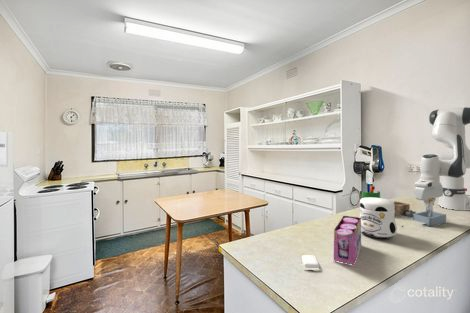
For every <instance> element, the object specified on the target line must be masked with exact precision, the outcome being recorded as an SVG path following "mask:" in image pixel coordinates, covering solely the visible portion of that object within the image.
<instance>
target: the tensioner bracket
mask: <svg viewBox="0 0 470 313" xmlns="http://www.w3.org/2000/svg"><path fill="white" fill-rule="evenodd" d="M393 202H394V206H395V209H394V210H395V216H398V217H400V218H401V217H403V218H406V219H413V214H415V213H417V212H416V211H413V209H411V206H410V203H406V202H401V201H397V200H396V201H395V200H394V201H393Z"/></svg>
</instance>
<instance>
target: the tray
mask: <svg viewBox="0 0 470 313" xmlns="http://www.w3.org/2000/svg"><path fill="white" fill-rule="evenodd" d="M412 221H416V222H419V223H421V225H422V226H426V227H428V228H432V227H436V226H438V225H440V226H441V225H443V224H446V223H447V214H445V213H442V212H441V213H440V212H437V211H433V217H431V218H428V217H426V210H425V211H421V212H416V213H415V214H413V218H412Z"/></svg>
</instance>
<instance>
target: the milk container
mask: <svg viewBox="0 0 470 313" xmlns="http://www.w3.org/2000/svg"><path fill="white" fill-rule="evenodd" d="M394 209H395V206H394V201H393V200H391V199H388V198H382V197H380V198H372V197H369V198H360V200H359V217H358V218H361V234H363V235H366V236H369V237H371V238H377V239H389V238H393V237H395V235H396V234H397V230H398V228H397V227H398V226H397V223H396V219H395V218H396V217H395V216H396V215H395V210H394Z"/></svg>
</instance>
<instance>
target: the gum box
mask: <svg viewBox="0 0 470 313" xmlns="http://www.w3.org/2000/svg"><path fill="white" fill-rule="evenodd" d="M361 247H362V232H361V218H359V217H358V216H351V215H350V216H349V215H343V216H342V217H341V219H340V220H339V222H338V224H337V225H335V227H334V230H333V261H334V260H335V261H339V262H343V263H347V264H352V265H354V266H355V264H356V262H357V259H356V258H358V257H357V256H359V254H358V253H360V251H361ZM359 250H360V251H359ZM355 261H356V262H355ZM354 263H355V264H354Z"/></svg>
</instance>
